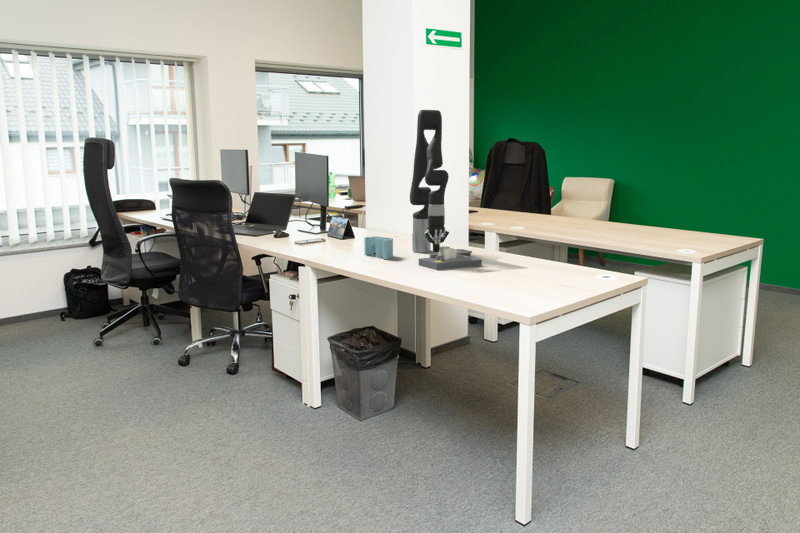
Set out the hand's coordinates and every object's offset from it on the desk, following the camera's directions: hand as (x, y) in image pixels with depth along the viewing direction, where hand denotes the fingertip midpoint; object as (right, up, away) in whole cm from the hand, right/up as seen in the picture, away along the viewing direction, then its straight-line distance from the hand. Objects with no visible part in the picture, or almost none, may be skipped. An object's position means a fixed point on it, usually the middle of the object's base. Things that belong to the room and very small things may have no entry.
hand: (436, 252), depth 289 cm
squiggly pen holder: (-27, -2, +28) cm, 39 cm away
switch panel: (+6, -6, -1) cm, 9 cm away
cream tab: (+6, -4, -7) cm, 10 cm away
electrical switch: (+9, -3, +18) cm, 21 cm away
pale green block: (+4, -2, +2) cm, 5 cm away
